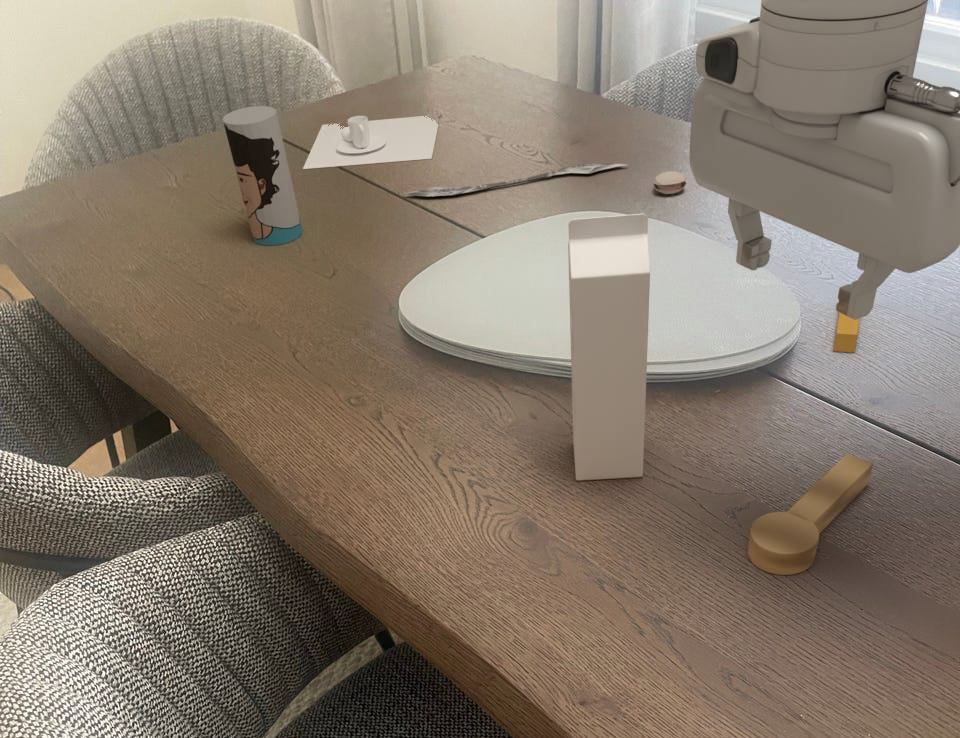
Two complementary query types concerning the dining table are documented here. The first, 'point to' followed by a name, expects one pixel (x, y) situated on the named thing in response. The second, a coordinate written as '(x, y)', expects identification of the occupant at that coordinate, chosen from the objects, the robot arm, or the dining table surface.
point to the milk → (609, 343)
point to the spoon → (806, 519)
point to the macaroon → (669, 182)
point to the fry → (846, 334)
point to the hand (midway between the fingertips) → (800, 288)
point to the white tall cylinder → (263, 174)
